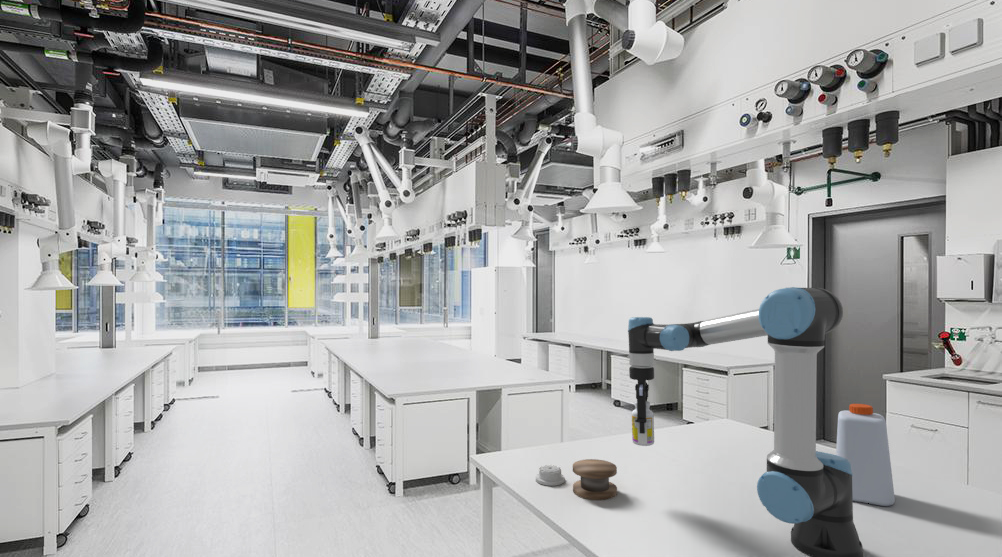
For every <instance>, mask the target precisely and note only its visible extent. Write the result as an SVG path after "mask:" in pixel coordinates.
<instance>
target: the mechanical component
mask: <svg viewBox="0 0 1002 557" xmlns="http://www.w3.org/2000/svg"><path fill="white" fill-rule="evenodd" d="M538 468H539V469H538V474H536V475H535V482H536V483H537V484H540V485H543V486H548V487H549V486H551V487H553V486H555V487H556V486H559V485H563V484H564V483H565V482H566V476H565V475H564V474H562V468H561V467H559V466H557V465H552V464H550V465H547V464H546V465H543V466H542V465H541V466H539V467H538Z"/></svg>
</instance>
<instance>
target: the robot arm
mask: <svg viewBox="0 0 1002 557" xmlns="http://www.w3.org/2000/svg"><path fill="white" fill-rule="evenodd" d="M843 318H844V308H843V304H842V302H841V301H840V299H839V297H838V296H836V295H835V294H834V293H833V292H831V291H829V290H827V289H825V288H822V287H795V286H792V287H785V288H779V289H775V290H773V291H771V292H770V293H768V294H767V296H765V297H764V298H763V299H762V301H761V303H760V306H759V307H758V308H757V309H752V310H747V311H743V312H738V313H734V314H729V315H724V316H719V317H715V318H710V319H705V320H700V321H696V322H690V323H689V322H688V323H673V324H672V323H671V324H656V323H654V321H653V318H652V317H649V316H648V317H647V316H640V317H639V316H637V317H636V316H635V317H634V316H633V317H630V318H629V319H628V329H627V334H628V335H627V336H628V355H627V356H626V357H627V359H629V360H628V361H629V362H628V364H629V365H630V367H628V368H629V369H628V370H629V371H628V372H629V375H628V376H629V379H631V380H633V381H637V383H635V385H634V387H635V388H634V390H635V399H636V401H637V420H635V422H638V444H647V420H646V401H648V399H649V390H650V385H649V384H648V382H647V381H651V380H654V379H655V368H654V367H653V366H655V352H654V349H656V350H662V351H663V350H664V351H669V352H674V351H675V352H677V351H678V352H680V351H681V352H682V351H684V350H685V349H688V348H689V349H690V348H704V347H707V346H711V345H717V344H721V343H722V344H723V343H729V342H736V341H742V340H743V341H744V340H747V339H754V338H760V337H761V338H762V337H766V336H767V344H768V346H770V347H771V348H772V349H773V351H774V391H773V392H774V397H773V398H774V404H773V405H774V407H773V408H774V411H773V416H774V418H773V420H774V421H773V450H772V451H770V452H769V453H768V454H767V455H766V471H765V472H764V473H763V474H761V476H760V477H759V478H758V481H757V485H756V492H757V496H758V498H759V500H760V503H761V504H762V506H763V507H765V509H766V511H768V513H769V514H770V515H771V516H773V517H774V518H775V519H777V520H779V521H780V522H783V523H787V524H793V526H792V527H791V530H790V542H791V544H792V545H793V547H795V548H796V549H797V550H798V551H800V552H802V553H803V554H805V555H808V556H810V557H864V551H863V550H864V547H863V544H862V541H861V540H860V537H859V534H858V530H857V528H856V525H855V523H854V507H853V506H854V504H853V503H854V501H853V495H852V476H853V474H852V470H851V464H850V462H849V461H848V460H847V459H845V458H843V457H840V456H837V455H836V454H833V453H828V452H823V451H817V376H818V375H817V367H818V366H817V363H818V362H817V360H818V359H817V356H818V353H819V352H820V351H821V350H823V349H824V348H825V340H826V339H825V336H826V334H828V333H830V332H833V331H834V330H835V329H837V328H838V326H839V325H840V324H841V322H842V320H843ZM640 417H643V418H640Z"/></svg>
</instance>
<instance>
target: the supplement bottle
mask: <svg viewBox="0 0 1002 557" xmlns="http://www.w3.org/2000/svg"><path fill="white" fill-rule="evenodd" d="M634 407H635V409H633V410H632V411H631V432H632V434H631V435H632V436H631V437H632V443H633V444H634V445H637V446H639V447H640V446H641V447H649V446H653V445H654V444H655V422H654V420H655V418H654V416H655V415H654V412H653V410H651V409H650V407H651V402H650V401H648V400H647V401H646V420H647V444H638V422H635V420H637V400H636V401H634ZM640 418H643V417H640Z"/></svg>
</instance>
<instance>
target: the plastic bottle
mask: <svg viewBox="0 0 1002 557" xmlns="http://www.w3.org/2000/svg"><path fill="white" fill-rule="evenodd" d="M848 406H849V408H848V409H849V410H841V411H839V412H838V415H837V428H836V429H837V432H836V453H835V455H837V456H840V457H843V458H845V459H847V460H848V461H849V462H850V464H851V470H852V474H853V476H852V495H853V502H857V503H864V504H868V503H869V505H875V506H881V507H889V506H893V504H895V501H896V497H895V489H894V483H893V482H894V481H893V473H892V471H893V470H892V462H891V452H890V446H889V439H888V438H889V437H888V428H887V422H886V419H885V416H884V415H882V414H880V413H876V412H874V408H873V406H872V405H870V404H865V403H851V404H849V405H848Z"/></svg>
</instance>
